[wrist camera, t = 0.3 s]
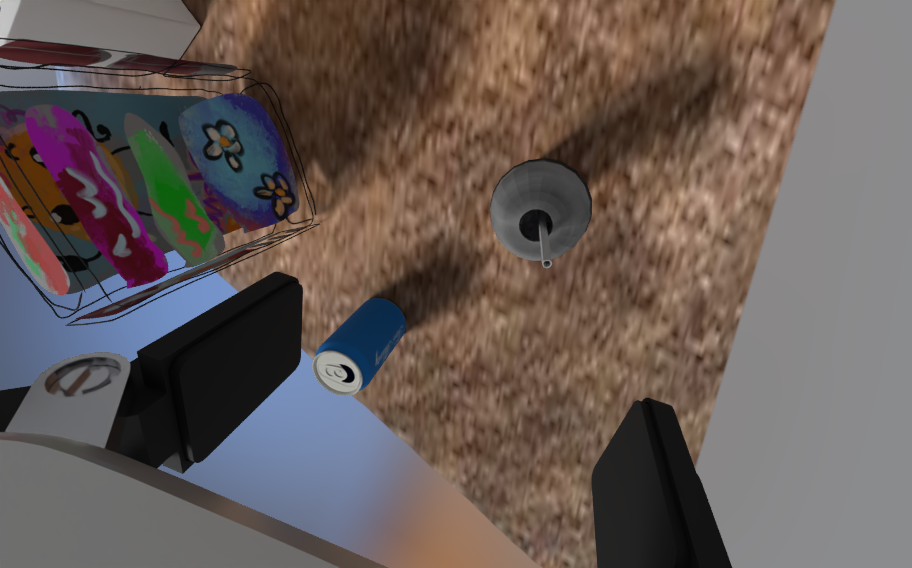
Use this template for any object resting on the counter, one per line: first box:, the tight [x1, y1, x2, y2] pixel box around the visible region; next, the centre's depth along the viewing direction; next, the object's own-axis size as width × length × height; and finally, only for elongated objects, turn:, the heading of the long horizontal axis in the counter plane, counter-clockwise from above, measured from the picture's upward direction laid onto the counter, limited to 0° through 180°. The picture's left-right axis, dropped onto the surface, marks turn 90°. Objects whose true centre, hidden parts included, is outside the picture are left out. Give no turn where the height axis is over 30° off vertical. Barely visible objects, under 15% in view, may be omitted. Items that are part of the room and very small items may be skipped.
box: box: [0, 7, 320, 326], centre depth 32 cm, size 25×6×24 cm, turn 13°
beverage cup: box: [490, 158, 592, 268], centre depth 29 cm, size 7×7×20 cm
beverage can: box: [312, 298, 406, 396], centre depth 44 cm, size 6×6×12 cm
